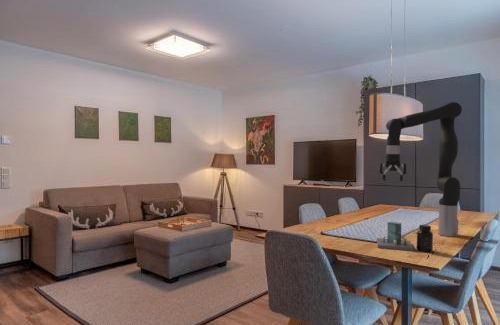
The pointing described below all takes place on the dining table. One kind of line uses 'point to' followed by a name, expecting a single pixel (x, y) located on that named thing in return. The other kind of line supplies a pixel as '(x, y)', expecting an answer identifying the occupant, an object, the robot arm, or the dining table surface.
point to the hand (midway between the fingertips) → (392, 181)
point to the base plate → (395, 244)
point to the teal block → (394, 232)
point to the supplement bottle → (424, 239)
